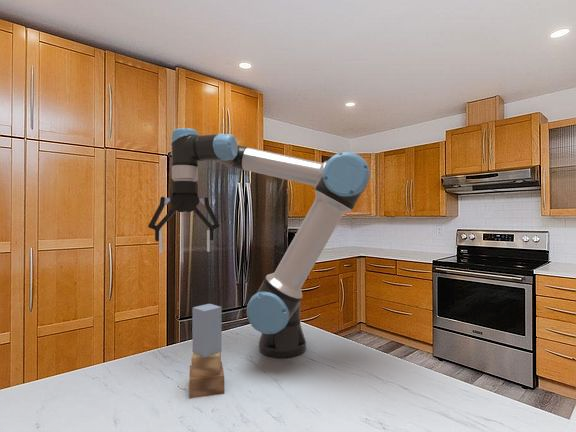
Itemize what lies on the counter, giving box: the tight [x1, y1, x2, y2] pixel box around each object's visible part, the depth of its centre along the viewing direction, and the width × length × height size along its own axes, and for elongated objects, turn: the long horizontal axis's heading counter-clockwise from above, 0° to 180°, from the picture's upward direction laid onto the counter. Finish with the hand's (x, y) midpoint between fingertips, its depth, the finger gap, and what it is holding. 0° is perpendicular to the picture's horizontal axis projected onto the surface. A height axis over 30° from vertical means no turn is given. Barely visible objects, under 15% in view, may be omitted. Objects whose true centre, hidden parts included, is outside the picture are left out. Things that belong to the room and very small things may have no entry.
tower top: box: [190, 351, 222, 377], centre depth 83 cm, size 6×6×4 cm
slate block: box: [191, 303, 223, 358], centre depth 83 cm, size 5×5×11 cm
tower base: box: [188, 361, 225, 399], centre depth 83 cm, size 8×8×4 cm
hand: (185, 252), depth 101 cm, fingers open, 13 cm apart
